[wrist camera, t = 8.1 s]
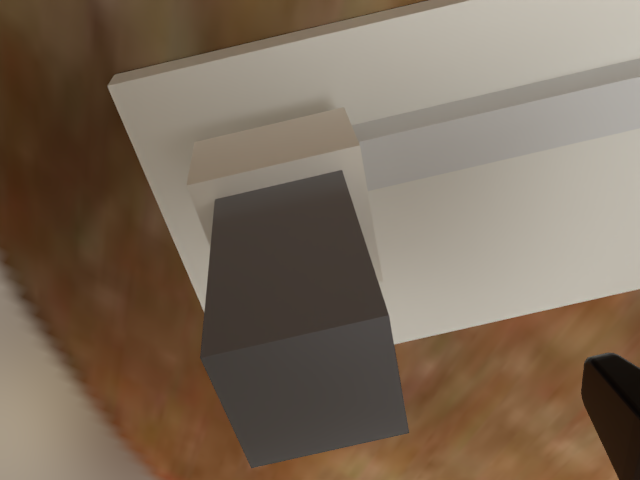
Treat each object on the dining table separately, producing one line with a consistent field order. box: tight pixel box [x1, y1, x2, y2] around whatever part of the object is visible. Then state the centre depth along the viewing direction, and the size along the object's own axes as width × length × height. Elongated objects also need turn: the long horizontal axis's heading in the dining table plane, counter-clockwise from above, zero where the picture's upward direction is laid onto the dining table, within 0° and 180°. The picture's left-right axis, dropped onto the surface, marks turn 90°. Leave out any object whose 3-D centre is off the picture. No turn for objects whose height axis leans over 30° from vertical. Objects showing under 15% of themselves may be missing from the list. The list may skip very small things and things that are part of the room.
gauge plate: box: [107, 0, 640, 344], centre depth 17 cm, size 12×24×5 cm, turn 101°
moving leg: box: [186, 107, 409, 468], centre depth 14 cm, size 7×4×8 cm, turn 11°
